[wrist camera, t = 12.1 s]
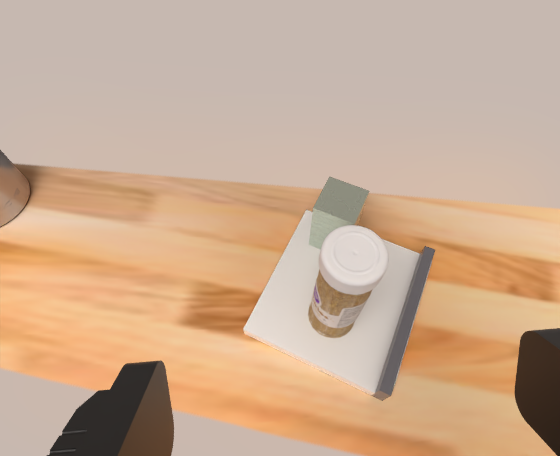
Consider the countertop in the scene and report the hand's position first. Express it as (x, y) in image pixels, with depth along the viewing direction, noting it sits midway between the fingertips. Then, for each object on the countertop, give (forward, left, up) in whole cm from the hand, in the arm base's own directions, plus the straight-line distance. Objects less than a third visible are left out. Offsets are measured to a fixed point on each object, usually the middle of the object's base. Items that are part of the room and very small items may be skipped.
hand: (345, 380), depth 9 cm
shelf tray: (-1, +13, -28) cm, 31 cm away
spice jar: (-1, +11, -27) cm, 29 cm away
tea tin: (-4, +19, -27) cm, 33 cm away
